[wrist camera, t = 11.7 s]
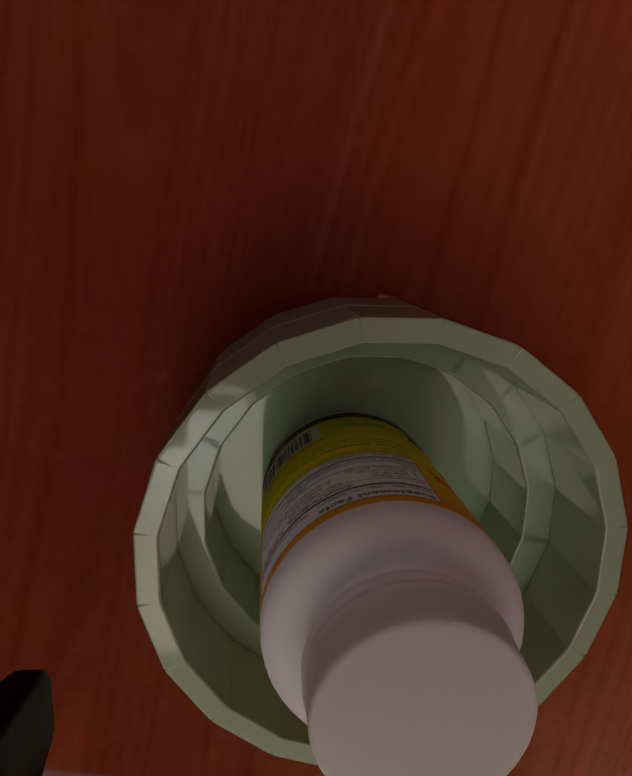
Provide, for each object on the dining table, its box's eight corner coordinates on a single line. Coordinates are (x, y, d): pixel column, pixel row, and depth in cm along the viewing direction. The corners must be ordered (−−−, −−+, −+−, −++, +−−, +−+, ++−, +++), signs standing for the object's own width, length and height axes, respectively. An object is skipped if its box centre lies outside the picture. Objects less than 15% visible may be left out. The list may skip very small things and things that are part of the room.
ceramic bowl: (177, 634, 21) (144, 781, 15) (166, 291, 18) (120, 313, 13) (506, 624, 22) (591, 758, 16) (544, 299, 19) (663, 322, 14)
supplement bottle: (420, 559, 21) (564, 848, 11) (261, 561, 20) (256, 868, 10) (432, 404, 19) (609, 572, 9) (262, 403, 19) (258, 579, 9)
